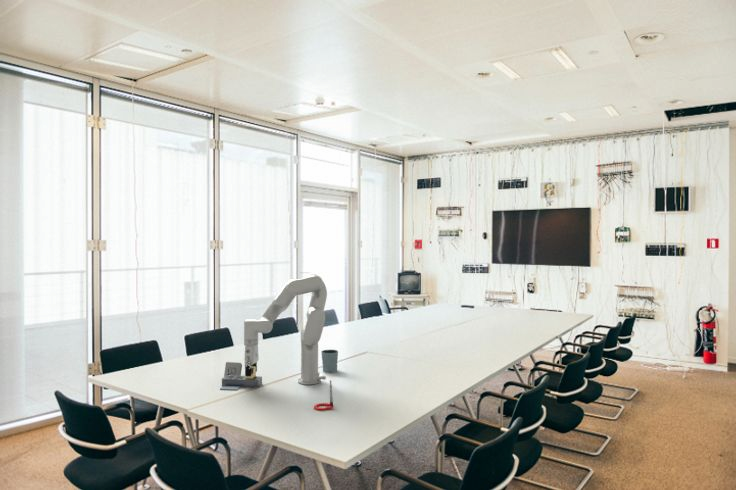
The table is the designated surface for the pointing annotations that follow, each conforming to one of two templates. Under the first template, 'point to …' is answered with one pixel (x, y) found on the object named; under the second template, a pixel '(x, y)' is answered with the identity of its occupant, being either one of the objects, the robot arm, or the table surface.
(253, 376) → the brass peg
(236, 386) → the rubber mat
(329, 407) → the tow hook
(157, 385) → the table surface
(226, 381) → the rail
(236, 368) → the electrical switch
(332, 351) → the grey-green cup
